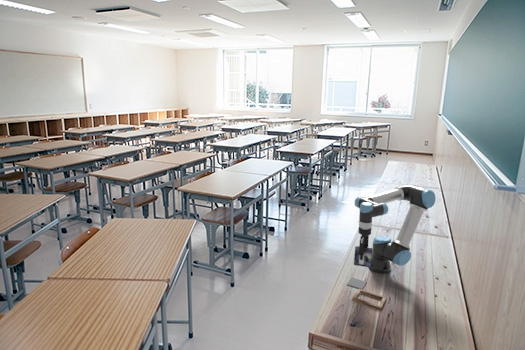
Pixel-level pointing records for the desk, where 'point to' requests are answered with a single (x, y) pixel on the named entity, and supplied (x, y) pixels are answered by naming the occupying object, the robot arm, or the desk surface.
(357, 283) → the mat
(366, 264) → the small box
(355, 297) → the wooden frame
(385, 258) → the robot arm
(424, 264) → the desk surface
